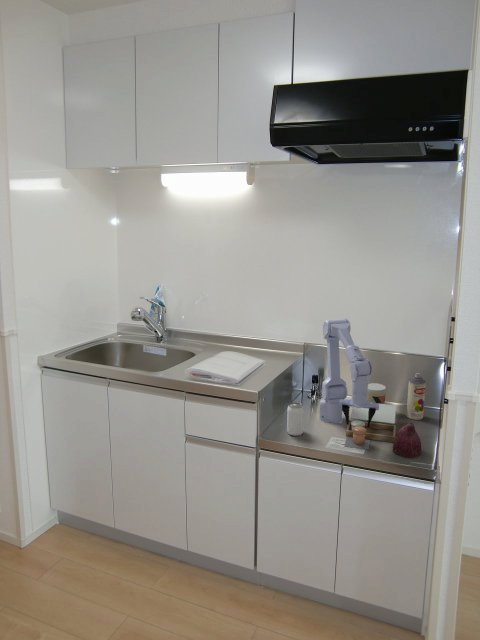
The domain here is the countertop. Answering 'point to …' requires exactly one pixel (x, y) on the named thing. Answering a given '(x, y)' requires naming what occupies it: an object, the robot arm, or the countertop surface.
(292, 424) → the can
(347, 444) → the slate mat
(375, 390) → the coffee cup
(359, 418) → the lid
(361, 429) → the pot
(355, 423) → the glazed pot
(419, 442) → the vegetable
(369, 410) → the robot arm
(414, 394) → the aerosol can
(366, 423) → the brown rectangular frame
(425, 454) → the countertop surface
